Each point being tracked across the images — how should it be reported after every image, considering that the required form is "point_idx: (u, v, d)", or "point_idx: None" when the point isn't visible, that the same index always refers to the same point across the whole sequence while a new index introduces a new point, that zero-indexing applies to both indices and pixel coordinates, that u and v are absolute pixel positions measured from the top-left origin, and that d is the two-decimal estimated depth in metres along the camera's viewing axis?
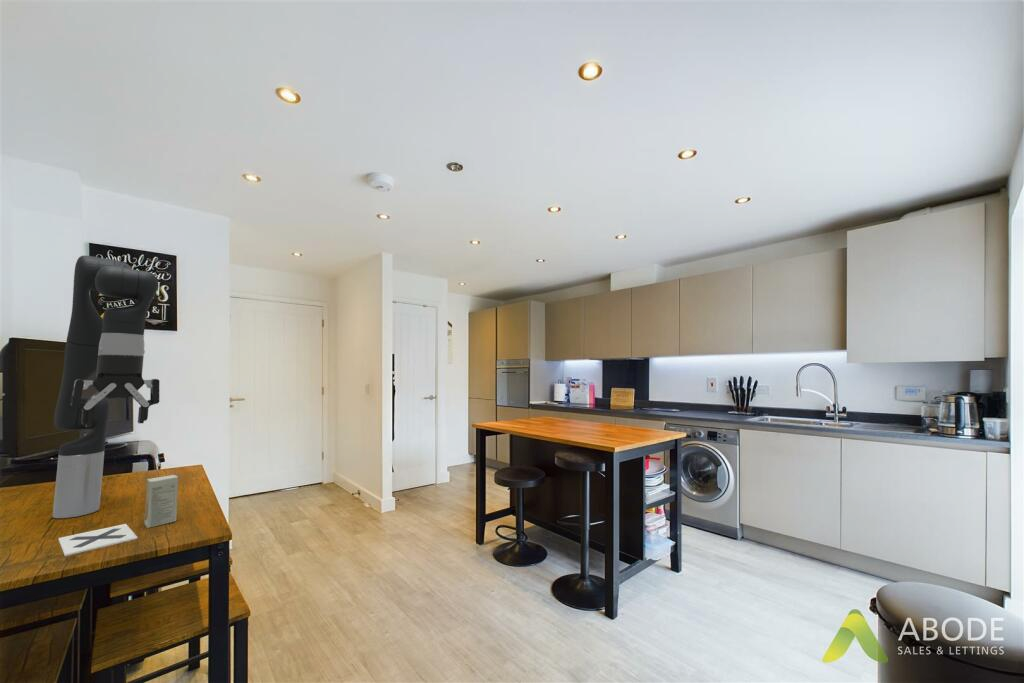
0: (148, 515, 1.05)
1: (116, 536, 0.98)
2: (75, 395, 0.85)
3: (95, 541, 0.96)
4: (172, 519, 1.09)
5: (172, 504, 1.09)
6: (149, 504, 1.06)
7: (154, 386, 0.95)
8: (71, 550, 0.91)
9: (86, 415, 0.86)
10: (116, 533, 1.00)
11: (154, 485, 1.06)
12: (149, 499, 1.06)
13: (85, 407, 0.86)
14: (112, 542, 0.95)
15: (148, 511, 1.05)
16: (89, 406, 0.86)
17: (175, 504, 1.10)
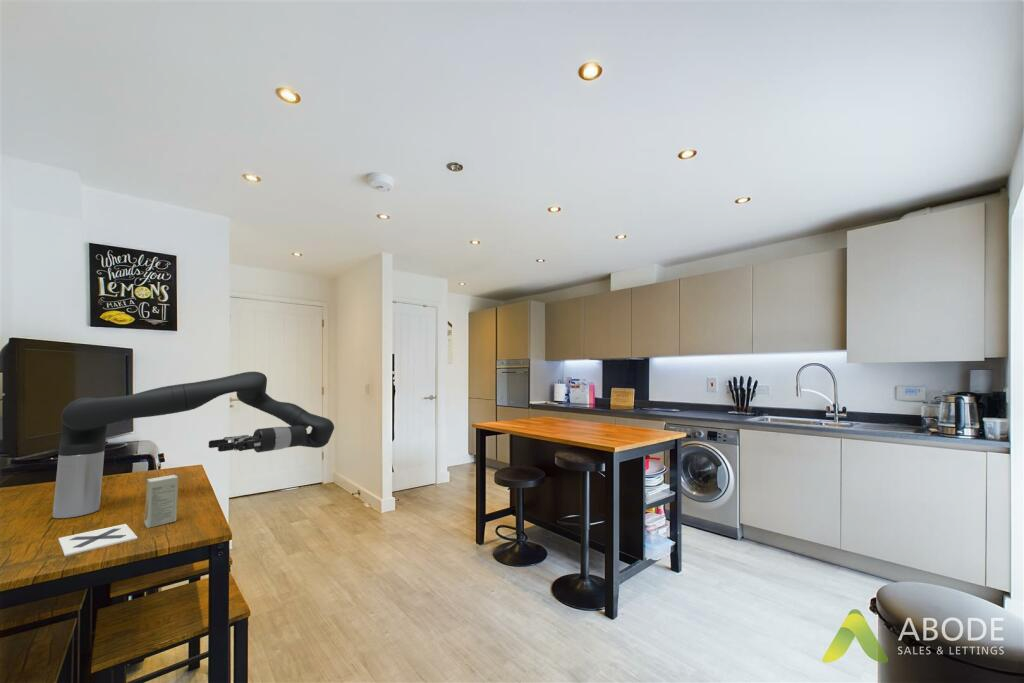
0: (148, 515, 1.05)
1: (116, 536, 0.98)
2: None
3: (95, 541, 0.96)
4: (172, 519, 1.09)
5: (172, 504, 1.09)
6: (149, 504, 1.06)
7: None
8: (71, 550, 0.91)
9: None
10: (116, 533, 1.00)
11: (154, 485, 1.06)
12: (149, 499, 1.06)
13: (236, 450, 1.19)
14: (112, 542, 0.95)
15: (148, 511, 1.05)
16: None
17: (175, 504, 1.10)
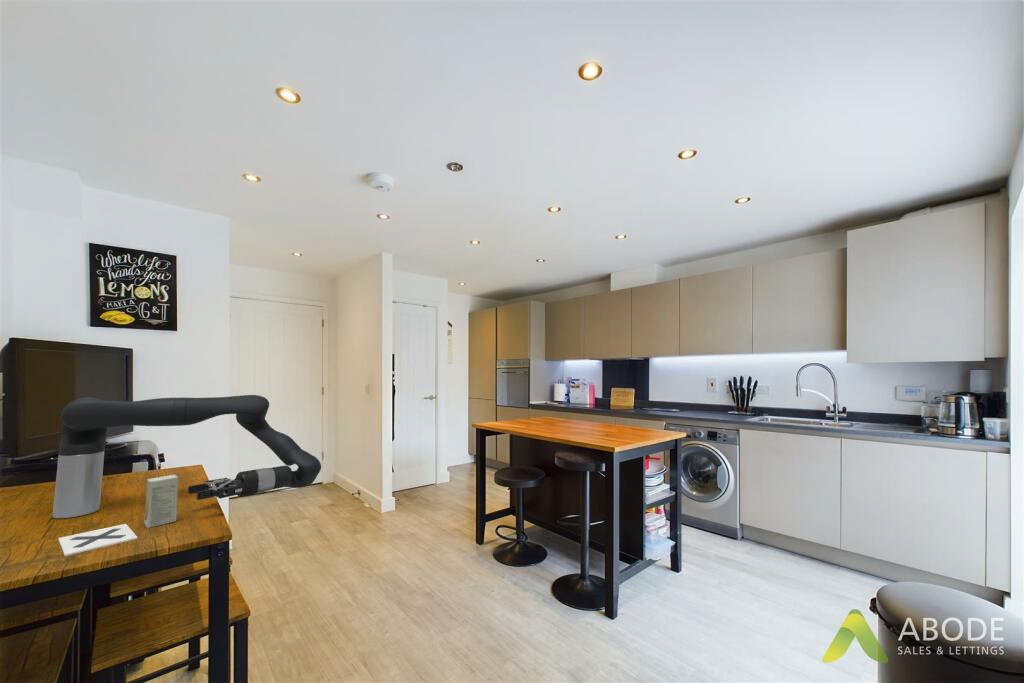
0: (148, 515, 1.05)
1: (116, 536, 0.98)
2: None
3: (95, 541, 0.96)
4: (172, 519, 1.09)
5: (172, 504, 1.09)
6: (149, 504, 1.06)
7: None
8: (71, 550, 0.91)
9: None
10: (116, 533, 1.00)
11: (154, 485, 1.06)
12: (149, 499, 1.06)
13: None
14: (112, 542, 0.95)
15: (148, 511, 1.05)
16: None
17: (175, 504, 1.10)
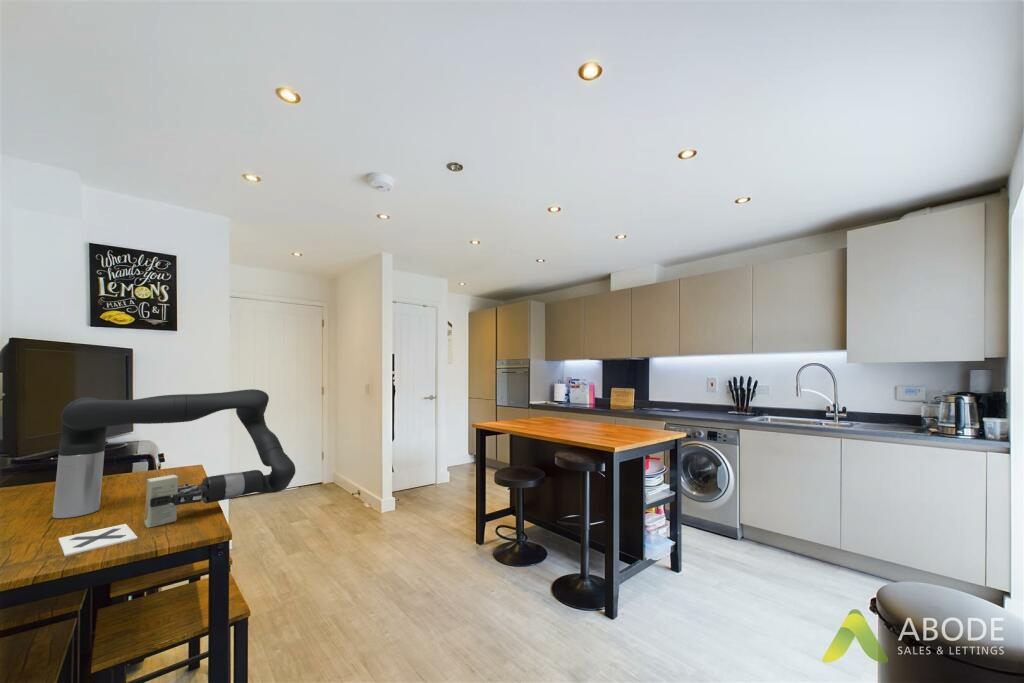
0: (148, 515, 1.05)
1: (116, 536, 0.98)
2: None
3: (95, 541, 0.96)
4: (172, 519, 1.09)
5: None
6: (149, 504, 1.06)
7: None
8: (71, 550, 0.91)
9: None
10: (116, 533, 1.00)
11: (154, 485, 1.06)
12: (149, 499, 1.06)
13: None
14: (112, 542, 0.95)
15: (148, 511, 1.05)
16: None
17: None
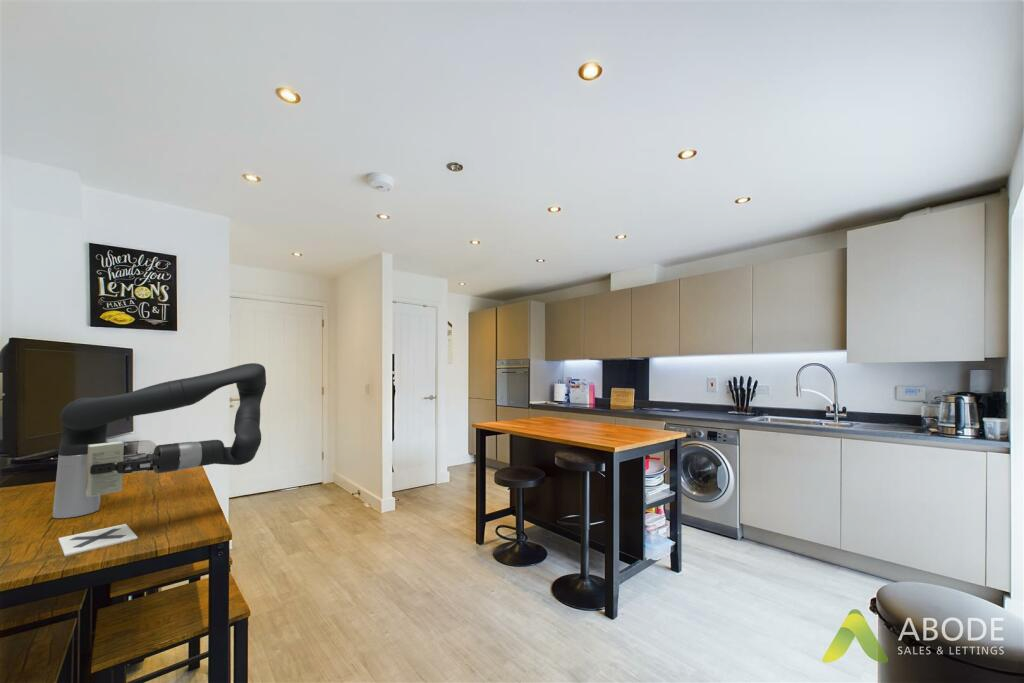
0: (88, 483, 0.96)
1: (116, 536, 0.98)
2: None
3: (95, 541, 0.96)
4: (117, 488, 0.99)
5: None
6: (89, 471, 0.96)
7: None
8: (71, 550, 0.91)
9: None
10: (116, 533, 1.00)
11: (95, 451, 0.97)
12: (89, 466, 0.96)
13: (116, 472, 0.98)
14: (112, 542, 0.95)
15: (88, 479, 0.96)
16: None
17: None
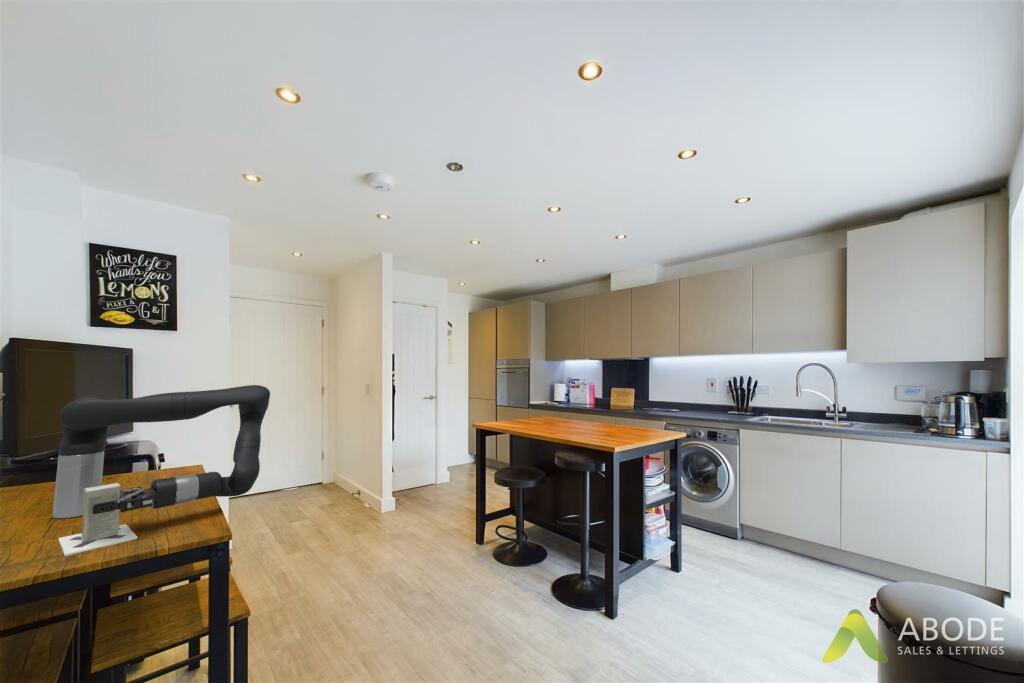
0: (84, 529, 0.95)
1: (116, 536, 0.98)
2: None
3: (95, 541, 0.96)
4: (113, 532, 0.99)
5: (113, 515, 0.99)
6: (85, 516, 0.95)
7: None
8: (71, 550, 0.91)
9: None
10: None
11: (92, 495, 0.96)
12: (85, 511, 0.95)
13: None
14: (112, 542, 0.95)
15: (84, 524, 0.95)
16: None
17: (116, 515, 0.99)
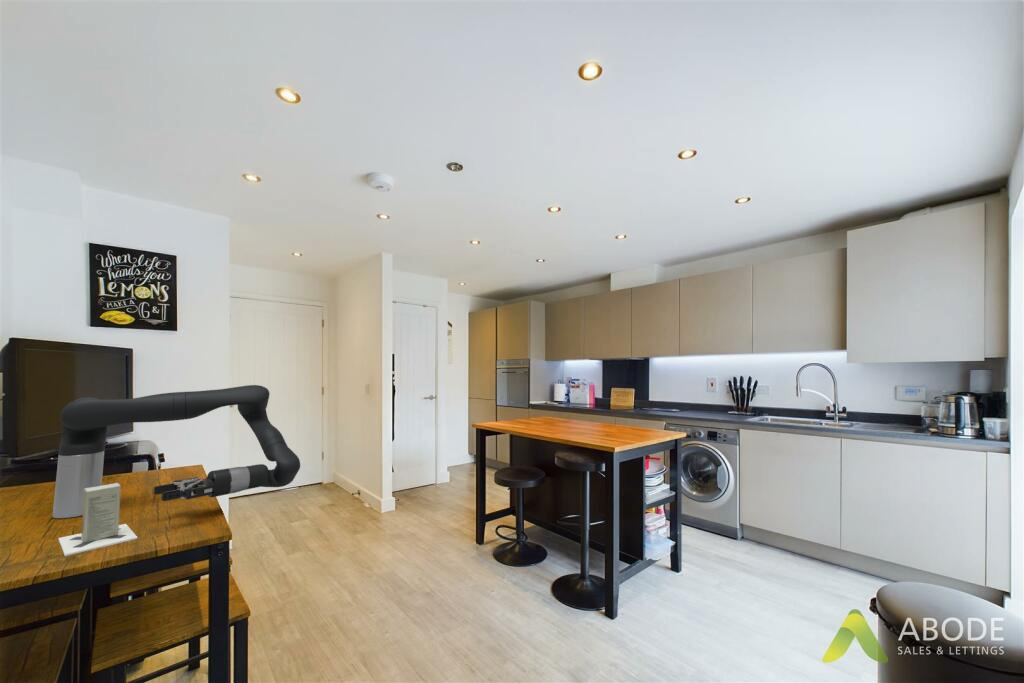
0: (84, 528, 0.95)
1: (116, 536, 0.98)
2: None
3: (95, 541, 0.96)
4: (113, 532, 0.99)
5: (113, 515, 0.99)
6: (85, 516, 0.95)
7: None
8: (71, 550, 0.91)
9: None
10: None
11: (92, 495, 0.96)
12: (85, 511, 0.95)
13: None
14: (112, 542, 0.95)
15: (84, 524, 0.95)
16: None
17: (116, 515, 0.99)
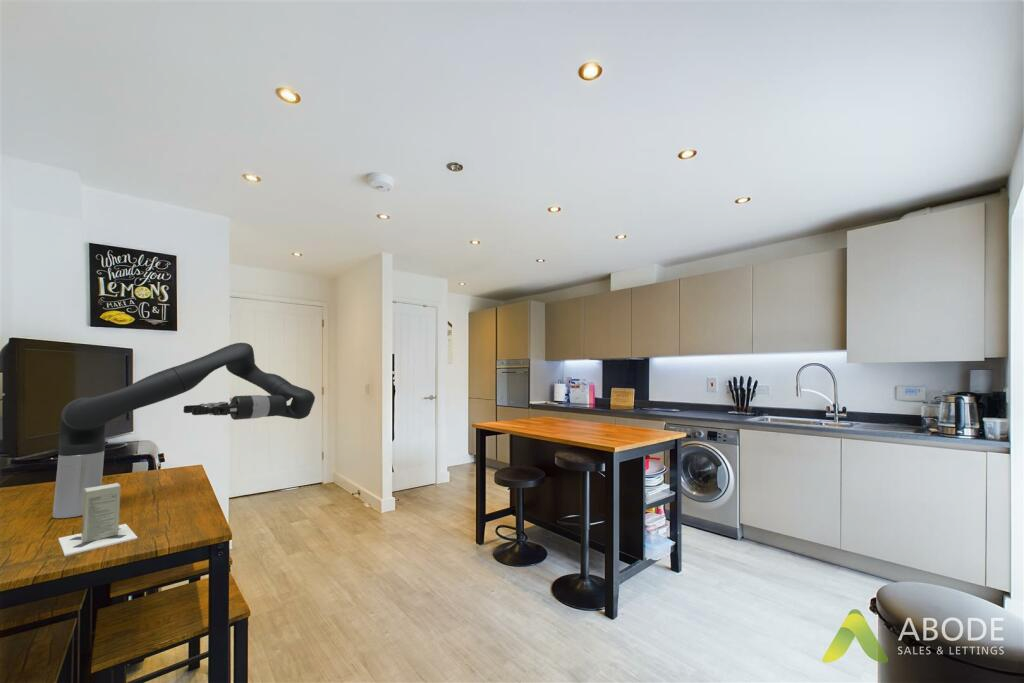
0: (84, 528, 0.95)
1: (116, 536, 0.98)
2: None
3: (95, 541, 0.96)
4: (113, 532, 0.99)
5: (113, 515, 0.99)
6: (85, 516, 0.95)
7: None
8: (71, 550, 0.91)
9: None
10: None
11: (92, 495, 0.96)
12: (85, 511, 0.95)
13: (211, 414, 1.17)
14: (112, 542, 0.95)
15: (84, 524, 0.95)
16: None
17: (116, 515, 0.99)
